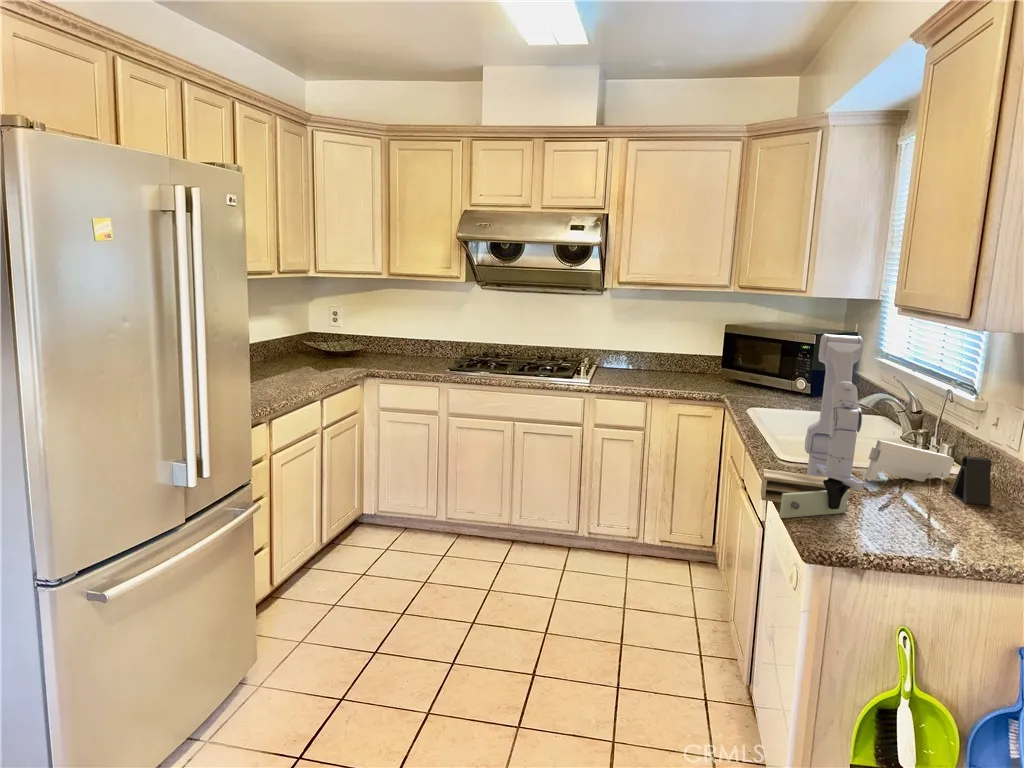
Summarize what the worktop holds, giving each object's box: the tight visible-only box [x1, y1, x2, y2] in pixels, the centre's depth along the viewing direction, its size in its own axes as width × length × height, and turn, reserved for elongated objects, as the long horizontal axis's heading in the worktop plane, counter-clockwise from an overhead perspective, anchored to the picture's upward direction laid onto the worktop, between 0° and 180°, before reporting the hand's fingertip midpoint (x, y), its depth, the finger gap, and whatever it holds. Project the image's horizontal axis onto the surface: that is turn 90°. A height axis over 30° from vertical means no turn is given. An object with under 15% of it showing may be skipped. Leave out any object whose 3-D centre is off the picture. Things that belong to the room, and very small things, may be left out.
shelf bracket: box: [864, 439, 955, 482], centre depth 198 cm, size 6×25×13 cm, turn 99°
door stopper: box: [950, 455, 992, 507], centre depth 183 cm, size 9×6×12 cm, turn 170°
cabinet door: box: [779, 489, 851, 519], centre depth 166 cm, size 2×20×6 cm, turn 106°
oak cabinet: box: [760, 468, 828, 504], centre depth 176 cm, size 7×20×6 cm, turn 71°
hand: (833, 508), depth 166 cm, fingers closed
